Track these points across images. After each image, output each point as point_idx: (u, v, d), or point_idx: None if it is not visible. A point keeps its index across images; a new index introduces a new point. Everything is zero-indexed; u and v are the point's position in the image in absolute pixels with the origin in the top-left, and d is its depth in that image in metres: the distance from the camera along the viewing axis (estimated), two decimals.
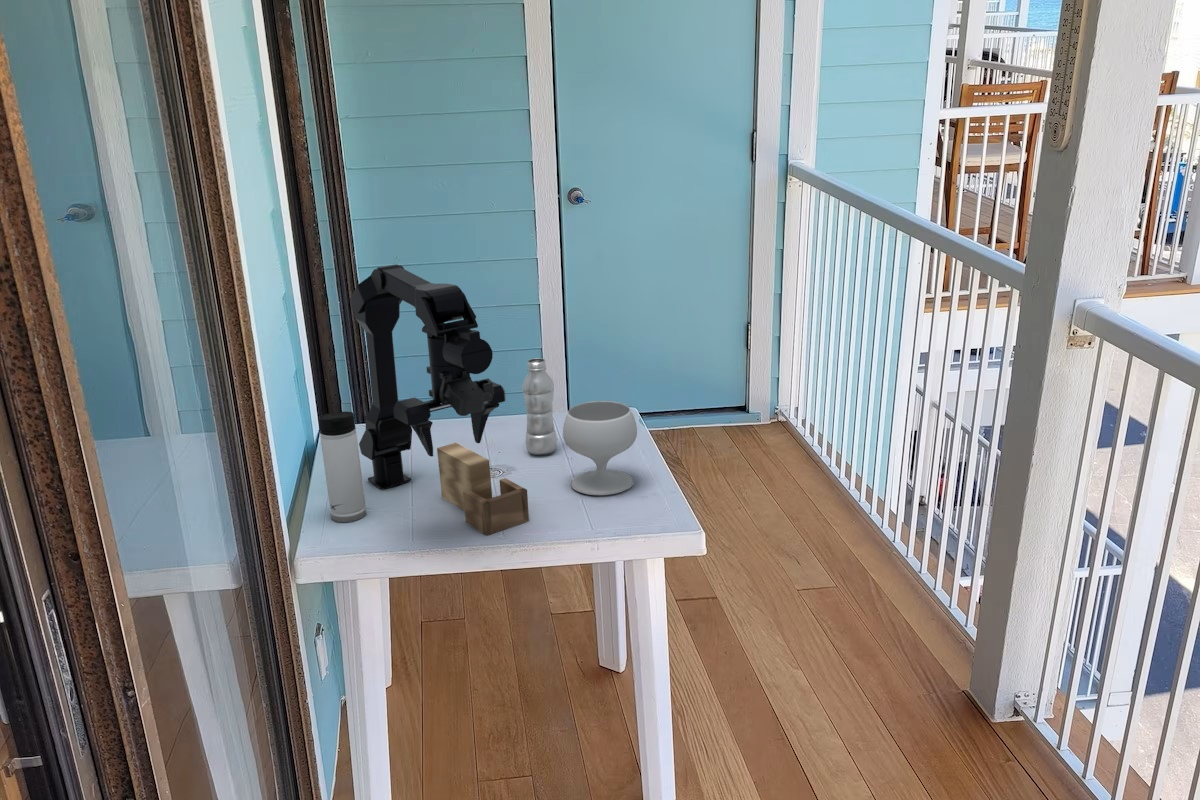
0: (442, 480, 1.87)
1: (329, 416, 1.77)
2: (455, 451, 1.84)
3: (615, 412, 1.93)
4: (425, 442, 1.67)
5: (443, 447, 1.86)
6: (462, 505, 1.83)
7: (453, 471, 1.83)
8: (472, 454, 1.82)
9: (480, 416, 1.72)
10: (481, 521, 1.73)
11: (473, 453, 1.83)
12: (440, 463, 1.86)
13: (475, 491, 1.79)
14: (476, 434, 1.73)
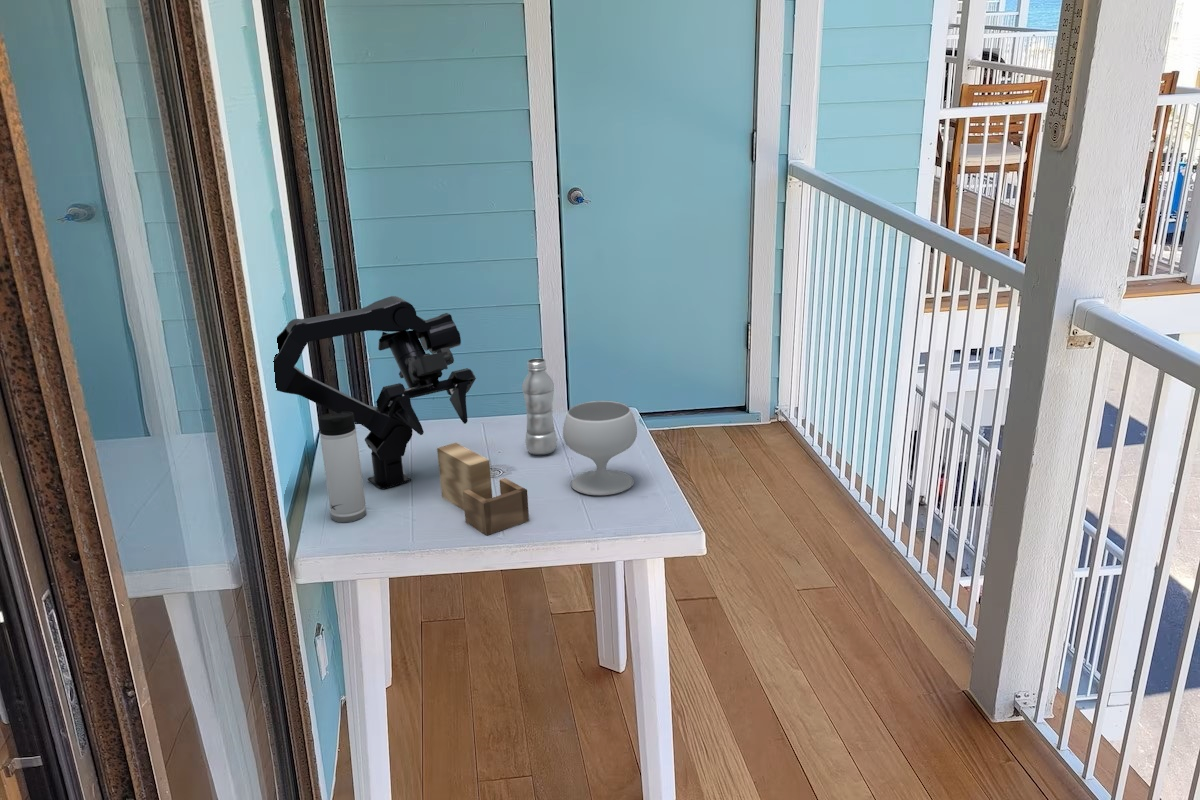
0: (442, 480, 1.87)
1: (329, 416, 1.77)
2: (455, 451, 1.84)
3: (615, 412, 1.93)
4: (412, 420, 1.83)
5: (443, 447, 1.86)
6: (463, 505, 1.83)
7: (453, 471, 1.83)
8: (472, 454, 1.82)
9: (458, 396, 1.90)
10: (481, 521, 1.73)
11: (473, 453, 1.83)
12: (440, 463, 1.86)
13: (475, 491, 1.79)
14: (461, 414, 1.89)
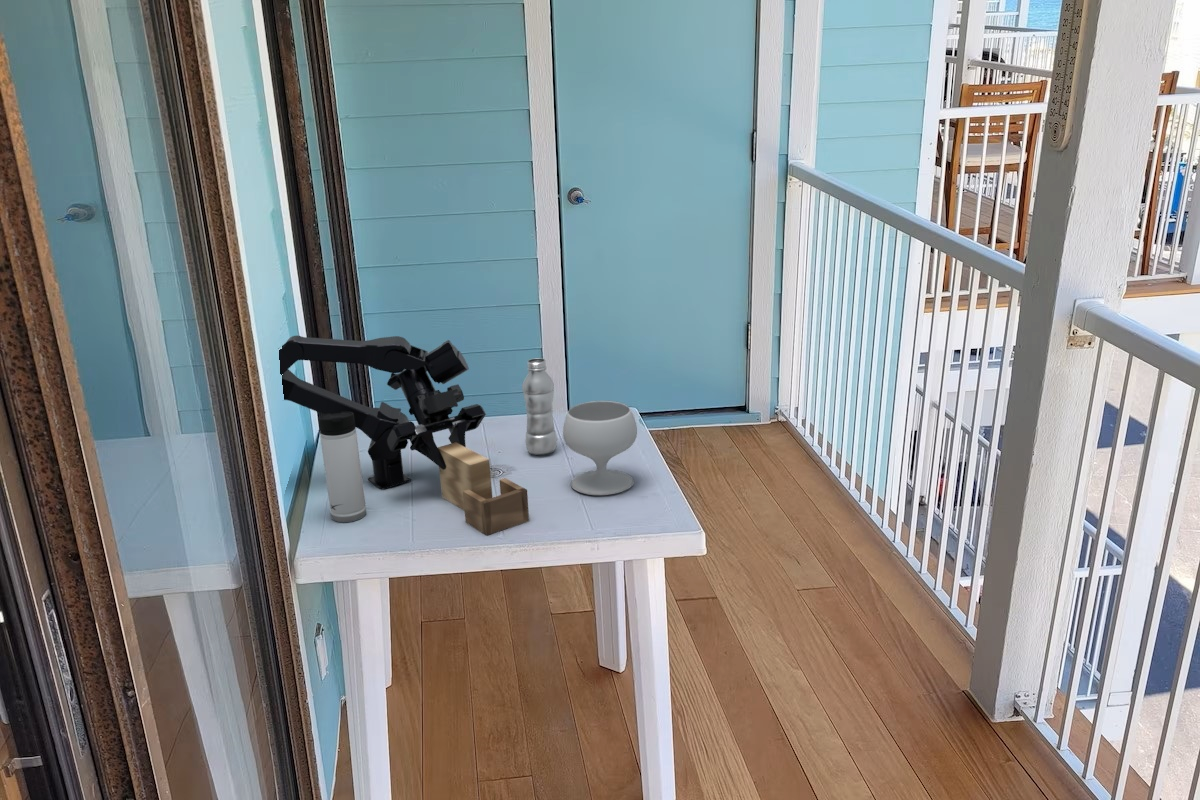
0: (442, 480, 1.87)
1: (329, 416, 1.77)
2: (455, 450, 1.84)
3: (615, 412, 1.93)
4: (434, 455, 1.85)
5: (443, 447, 1.86)
6: (463, 504, 1.83)
7: (453, 471, 1.83)
8: (472, 454, 1.82)
9: (457, 436, 1.88)
10: (481, 521, 1.73)
11: (473, 453, 1.83)
12: None
13: (475, 491, 1.79)
14: None
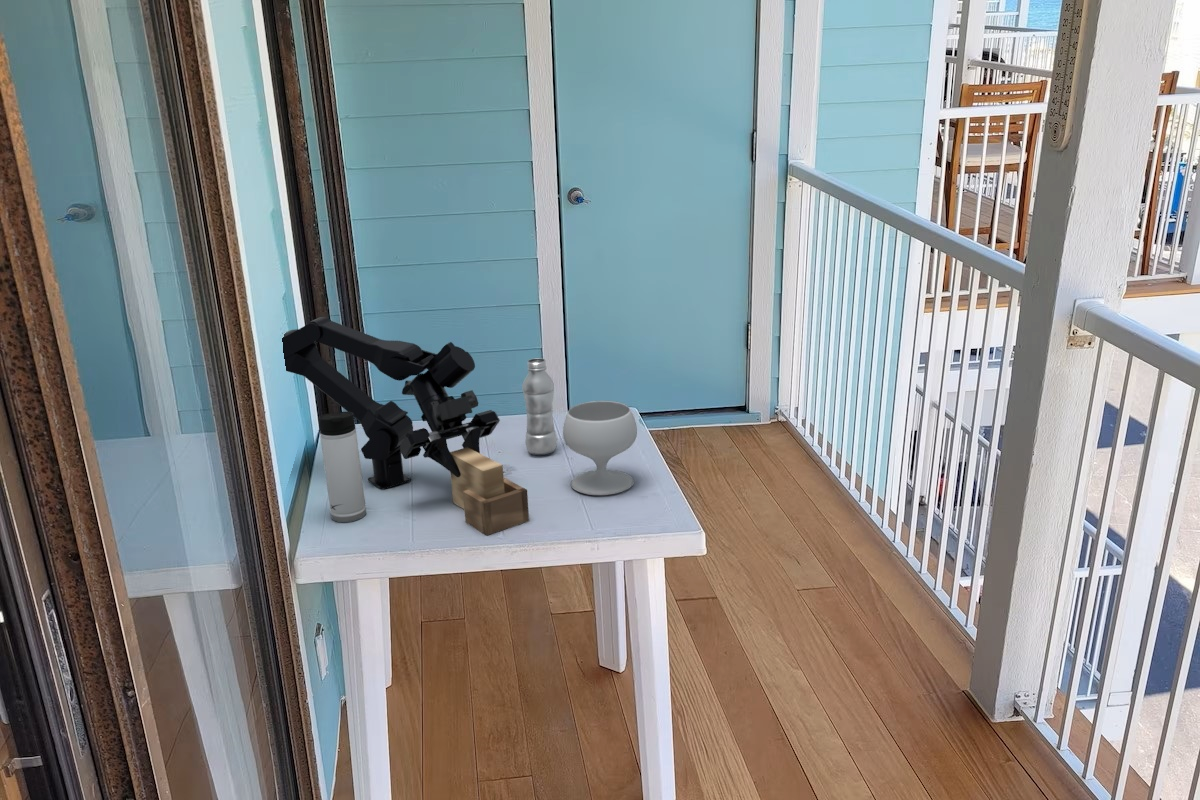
0: (453, 485, 1.84)
1: (329, 416, 1.77)
2: (467, 456, 1.81)
3: (615, 412, 1.93)
4: (448, 462, 1.81)
5: (455, 452, 1.83)
6: None
7: (465, 476, 1.80)
8: (485, 459, 1.79)
9: (471, 443, 1.85)
10: (481, 521, 1.73)
11: (486, 458, 1.80)
12: None
13: (488, 497, 1.76)
14: None
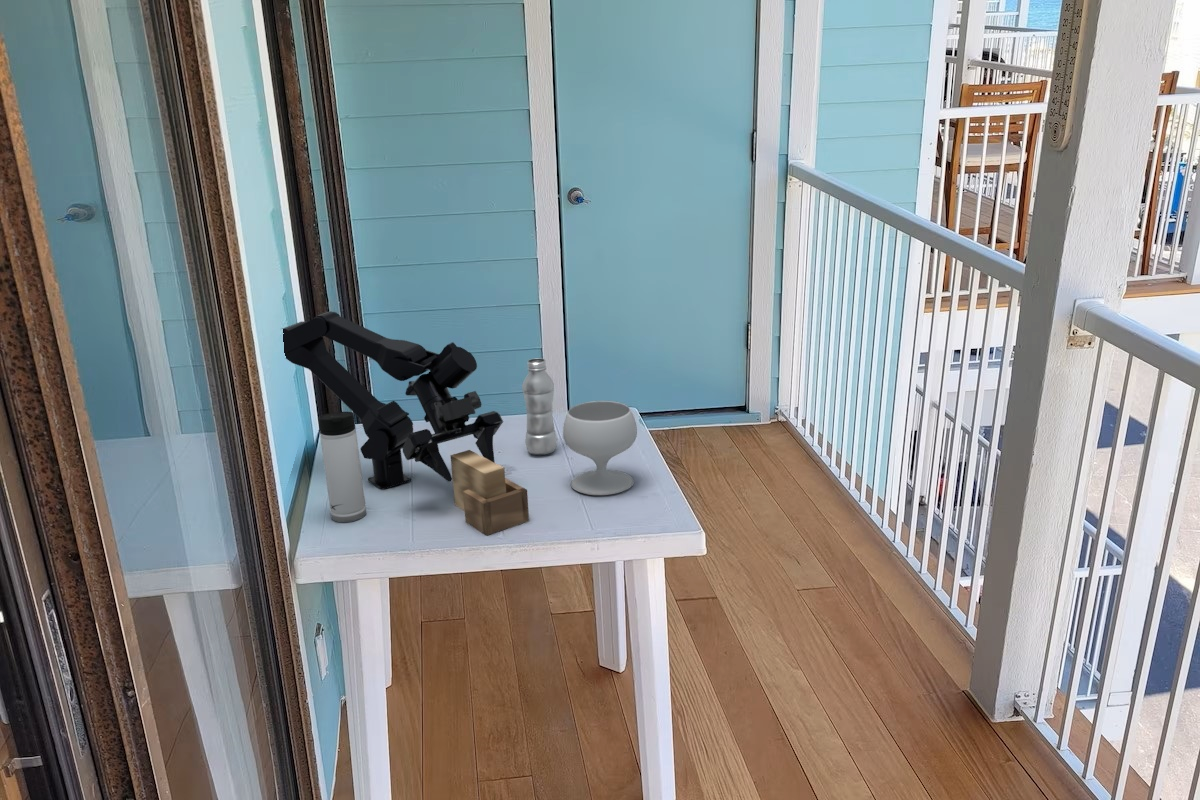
0: (455, 488, 1.83)
1: (329, 416, 1.77)
2: (469, 458, 1.80)
3: (615, 412, 1.93)
4: (440, 467, 1.79)
5: (457, 454, 1.82)
6: None
7: (467, 479, 1.79)
8: (487, 462, 1.78)
9: (485, 441, 1.85)
10: (481, 521, 1.73)
11: (487, 461, 1.79)
12: (453, 471, 1.82)
13: None
14: (489, 459, 1.84)
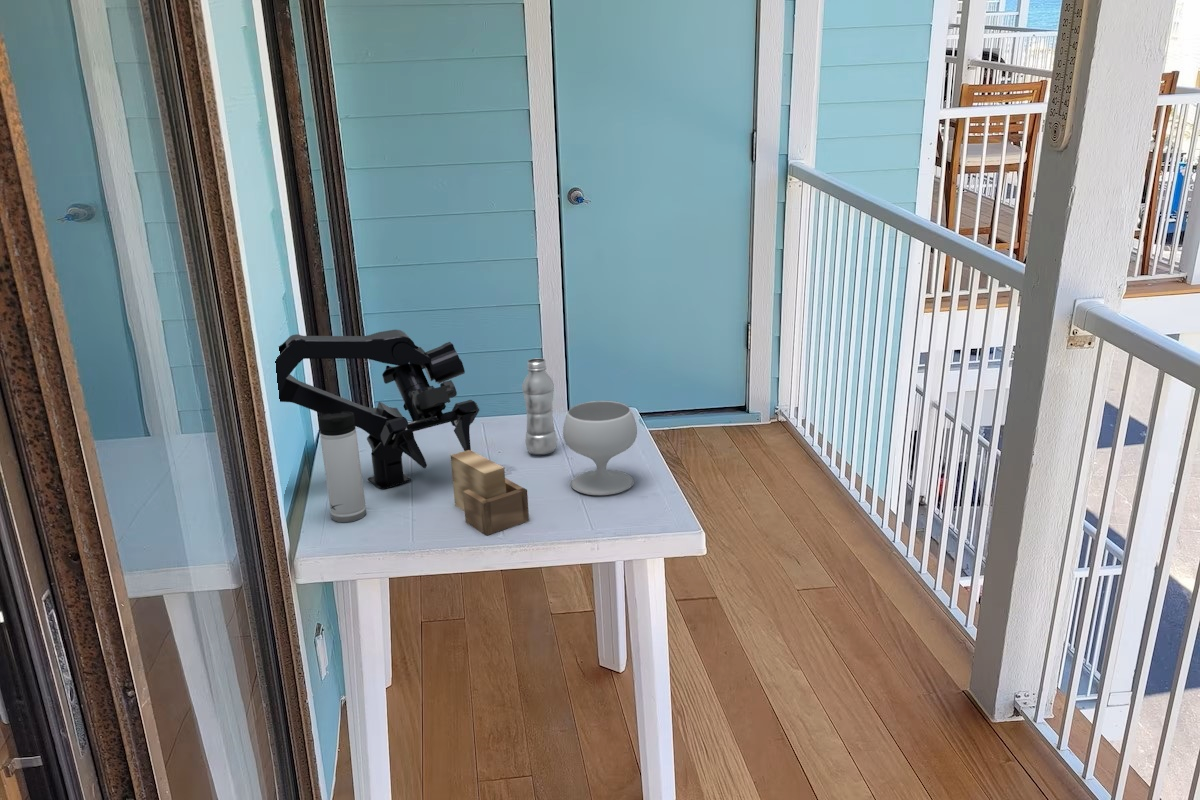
0: (455, 488, 1.83)
1: (329, 416, 1.77)
2: (469, 458, 1.80)
3: (615, 412, 1.93)
4: (415, 454, 1.85)
5: (457, 454, 1.82)
6: None
7: (467, 479, 1.79)
8: (487, 462, 1.78)
9: (462, 428, 1.91)
10: (481, 521, 1.73)
11: (487, 461, 1.79)
12: (453, 471, 1.82)
13: None
14: (465, 446, 1.90)
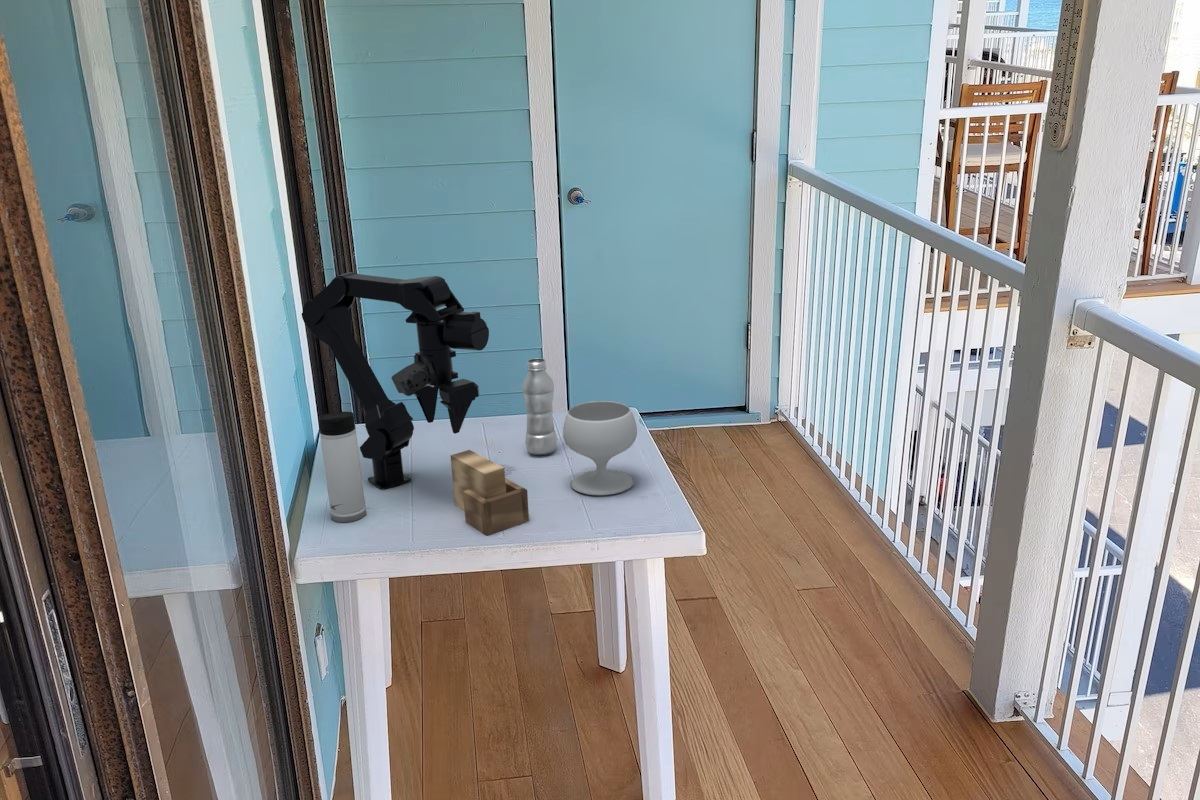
0: (455, 488, 1.83)
1: (329, 416, 1.77)
2: (469, 458, 1.80)
3: (615, 412, 1.93)
4: None
5: (457, 454, 1.82)
6: None
7: (467, 479, 1.79)
8: (487, 462, 1.78)
9: None
10: (481, 521, 1.73)
11: (487, 461, 1.79)
12: (453, 471, 1.82)
13: None
14: None
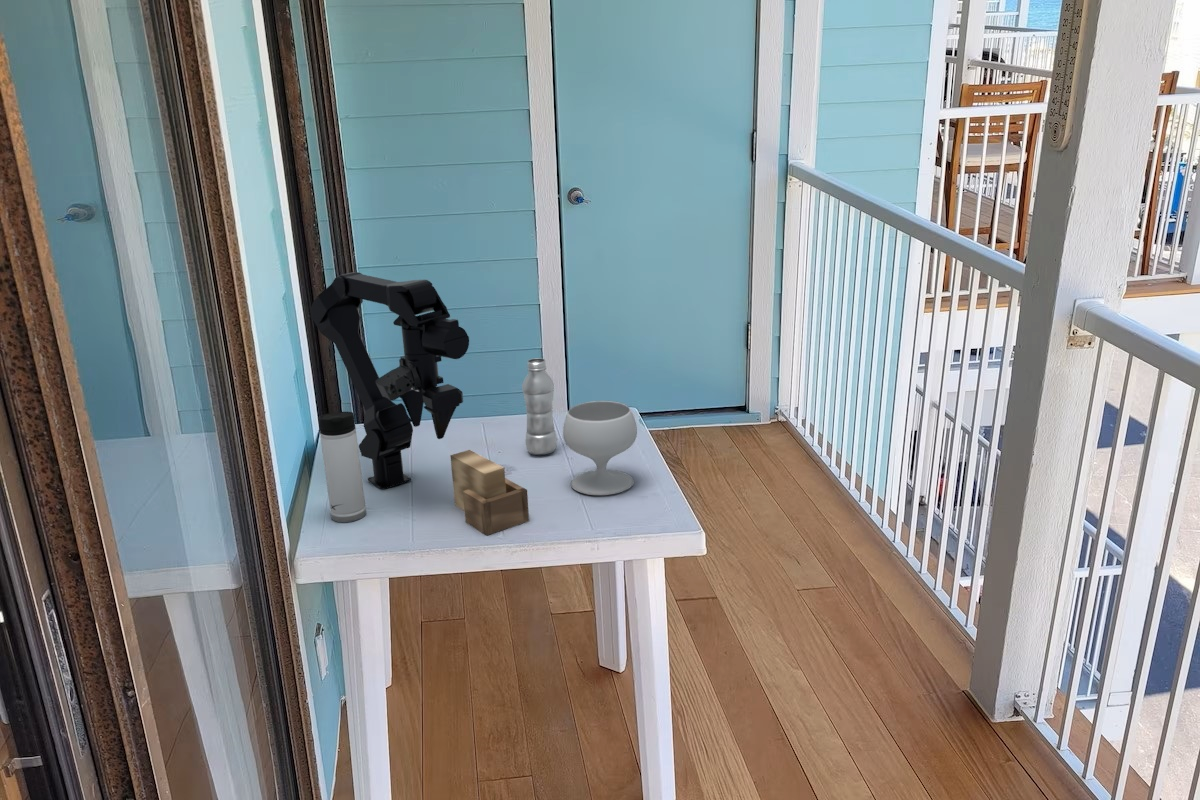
0: (455, 488, 1.83)
1: (329, 416, 1.77)
2: (469, 458, 1.80)
3: (615, 412, 1.93)
4: None
5: (457, 454, 1.82)
6: None
7: (467, 479, 1.79)
8: (487, 462, 1.78)
9: (432, 414, 1.79)
10: (481, 521, 1.73)
11: (487, 461, 1.79)
12: (453, 471, 1.82)
13: None
14: None
